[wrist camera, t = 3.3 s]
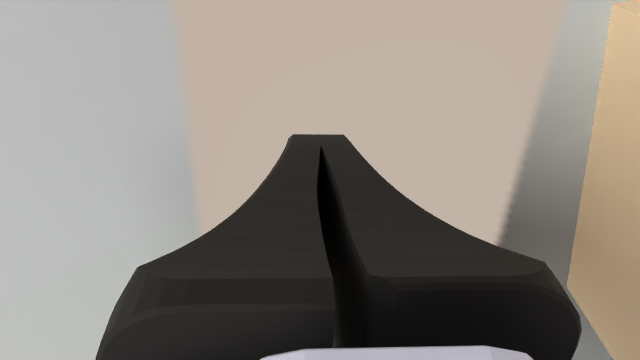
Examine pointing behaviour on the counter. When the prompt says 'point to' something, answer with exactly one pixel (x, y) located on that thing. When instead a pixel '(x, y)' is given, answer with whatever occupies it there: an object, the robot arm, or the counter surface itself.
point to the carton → (613, 196)
